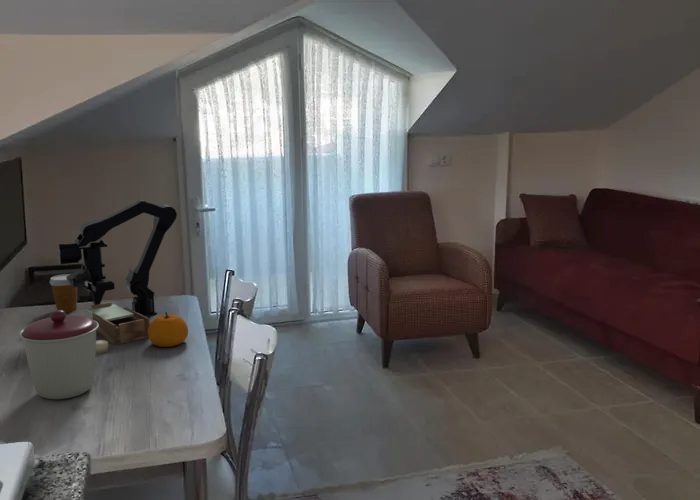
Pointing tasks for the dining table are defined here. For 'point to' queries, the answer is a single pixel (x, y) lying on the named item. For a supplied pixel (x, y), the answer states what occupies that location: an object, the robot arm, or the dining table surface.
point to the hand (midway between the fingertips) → (96, 306)
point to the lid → (109, 311)
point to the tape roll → (101, 346)
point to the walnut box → (123, 328)
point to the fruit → (167, 330)
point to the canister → (61, 354)
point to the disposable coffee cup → (64, 293)
